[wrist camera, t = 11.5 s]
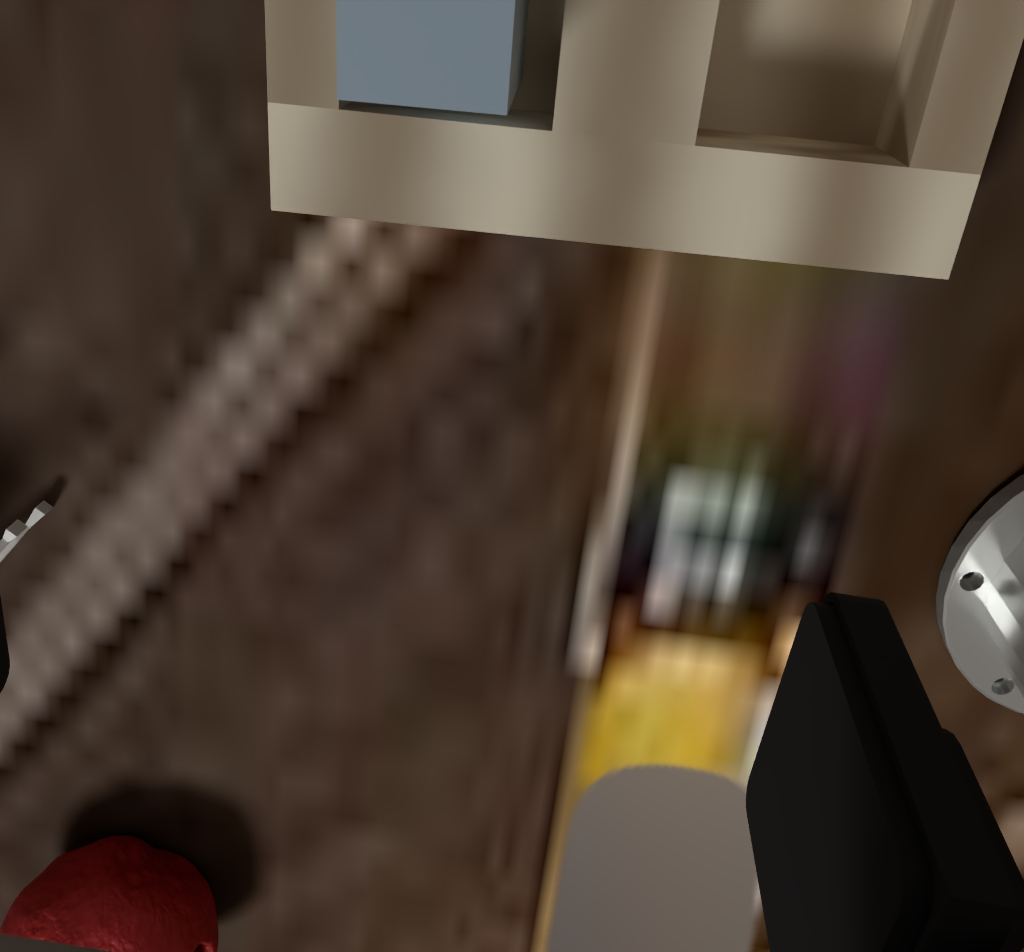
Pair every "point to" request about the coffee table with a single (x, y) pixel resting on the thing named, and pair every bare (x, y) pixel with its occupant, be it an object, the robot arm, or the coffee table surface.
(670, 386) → the coffee table surface
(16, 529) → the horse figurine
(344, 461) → the coffee table surface
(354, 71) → the grey rectangular block
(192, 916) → the pomegranate
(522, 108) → the socket block
